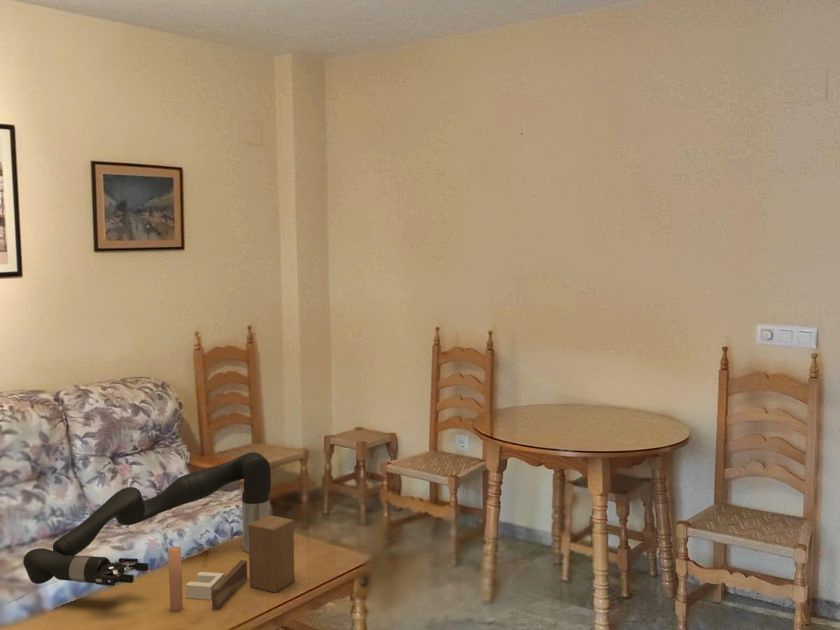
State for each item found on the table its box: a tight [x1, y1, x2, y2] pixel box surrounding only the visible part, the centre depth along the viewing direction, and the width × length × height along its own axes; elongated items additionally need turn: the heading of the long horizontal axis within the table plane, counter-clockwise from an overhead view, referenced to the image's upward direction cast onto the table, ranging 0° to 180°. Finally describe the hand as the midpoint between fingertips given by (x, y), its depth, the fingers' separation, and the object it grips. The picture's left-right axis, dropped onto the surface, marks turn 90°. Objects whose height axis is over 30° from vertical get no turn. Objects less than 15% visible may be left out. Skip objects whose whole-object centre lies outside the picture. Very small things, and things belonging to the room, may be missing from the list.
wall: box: [211, 559, 248, 611], centre depth 248 cm, size 2×22×6 cm, turn 170°
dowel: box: [167, 546, 184, 613], centre depth 237 cm, size 4×4×18 cm
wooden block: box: [248, 514, 295, 593], centre depth 254 cm, size 10×10×20 cm
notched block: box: [185, 571, 225, 601], centre depth 250 cm, size 8×10×4 cm
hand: (140, 573), depth 239 cm, fingers open, 8 cm apart
